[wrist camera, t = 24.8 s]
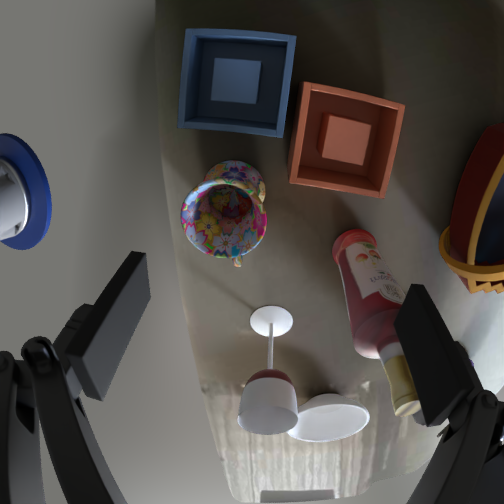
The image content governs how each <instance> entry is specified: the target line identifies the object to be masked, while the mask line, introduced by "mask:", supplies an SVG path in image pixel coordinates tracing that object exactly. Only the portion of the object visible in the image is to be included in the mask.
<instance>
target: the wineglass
mask: <svg viewBox="0 0 504 504" xmlns="http://www.w3.org/2000/svg"><path fill="white" fill-rule="evenodd" d="M292 323H293V320H292V316H291V315H290V313H289V312H288V311H286V310H285V309H283V308H281V307H278V306H265V307H262V308H259V309H257V310H256V311H255V312H254V313H253V314H252V316H251V318H250V324H251V327H252V328H253V329H254V331H256V332H257V333H259V334H261V335H264V336H269V342H268V366H267V369H265V370H261V371H259V372H257V373H255V374H254V375H253V376H252V377H251V378H250V379H249V380H248V382H247V384H246V385H245V388H244V390H243V393H242V397H241V402H240V407H239V413H238V424H239V425H240V426H241V427H242V428H243V429H245V430H247V431H249V432H252V433H256V434H264V435H272V434H279V433H283V432H286V431H288V430H290V429H292V428H293V427H295V426H296V424H297V423H298V409H297V400H296V394H295V390H294V387H293V384H292V382H291V380H290V378H289V377H288V376H287V375H286V374H285V373H283V372H281V371H279V370H276V369H272V365H273V336H279V335H282V334H284V333H286V332H287V331H289V329H290V328H291V327H292Z"/></svg>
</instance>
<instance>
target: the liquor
mask: <svg viewBox="0 0 504 504" xmlns="http://www.w3.org/2000/svg"><path fill="white" fill-rule="evenodd" d="M332 255H333V258H334V260H335V262H336V263H337V264H338V265H339V269H340V273H341V278H342V282H343V287H344V292H345V298H346V304H347V310H348V315H349V320H350V326H351V331H352V337H353V343H354V347H355V349H356V351H357V352H358V353H359V354H360V355H362V356H364V357H368V358H375V359H380V360H381V362H382V365H383V367H384V370H385V373H386V375H387V378H388V380H389V383H390V385H391V398H392V403H393V407H394V411H395V415H396V416H398V417H405V416H409V415H412V414H414V413H416V412H418V411H419V410H420V409H421V405H420V402H419V399H418V395H417V392H416V389H415V386H414V382H413V379H412V376H411V373H410V370H409V367H408V364H407V361H406V358H405V356H404V353H403V350H402V347H401V344H400V341H399V339H398V336H397V333H396V331H395V328H394V325H393V323H394V321H395V319H396V317H397V315H398V312H399V310H400V308H401V306H402V304H403V302H404V299H405V297H406V296H405V294H404V292H403V291H402V289H401V287H400V286H399V284H398V283H397V281H396V279H395V278H394V276H393V275H392V273H391V272H390V270H389V268H388V266H387V265H386V263H385V261H384V260H383V258H382V256H381V255H380V253H379V251H378V250H377V244H376V240H375V238H374V237H373V235H372V234H370V233H369V232H368V231H365V230H362V229H352V230H349V231H346V232H344V233H343V234H342V235H340V236H339V237H338V238H337V239H336V241H335V243H334V245H333V249H332Z"/></svg>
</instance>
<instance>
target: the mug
mask: <svg viewBox="0 0 504 504" xmlns="http://www.w3.org/2000/svg"><path fill="white" fill-rule="evenodd" d="M264 198H265V184H264V181H263V179H262V177H261V175H260V174H259V172H258V171H257V170H256V169H255V168H254V167H252V166H251V165H249V164H247V163H245V162H242V161H236V160H230V161H224V162H221V163H219V164H217V165H215V166H214V167H213V168H211V169H210V171H209V172H208V173H207V175H206V176H205V179H204V181H203V183H201V184H199V185H197V186H196V187H195V188H193V189H192V190H191V191H190V193H189V194H188V195H187V197H186V198H185V200H184V202H183V205H182V209H181V223H182V227H183V230H184V232H185V234H186V236H187V238H188V239H189V240H190V242H191V243H192V244H193V245H194V246H195V247H197V248H198V249H199V250H201V251H202V252H204V253H206V254H209V255H211V256H215V257H220V258H232V260H233V263H234V265H235V266H236V267H240V266H241V265H242V255H244V254H246V253H248V252H249V251H251V250H252V249H254V248H255V247H256V246H257V245H258V244H259V242H260V241H261V239H262V238H263V236H264V233H265V230H266V225H267V216H266V211H265V207H264V205H263V201H264Z"/></svg>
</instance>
